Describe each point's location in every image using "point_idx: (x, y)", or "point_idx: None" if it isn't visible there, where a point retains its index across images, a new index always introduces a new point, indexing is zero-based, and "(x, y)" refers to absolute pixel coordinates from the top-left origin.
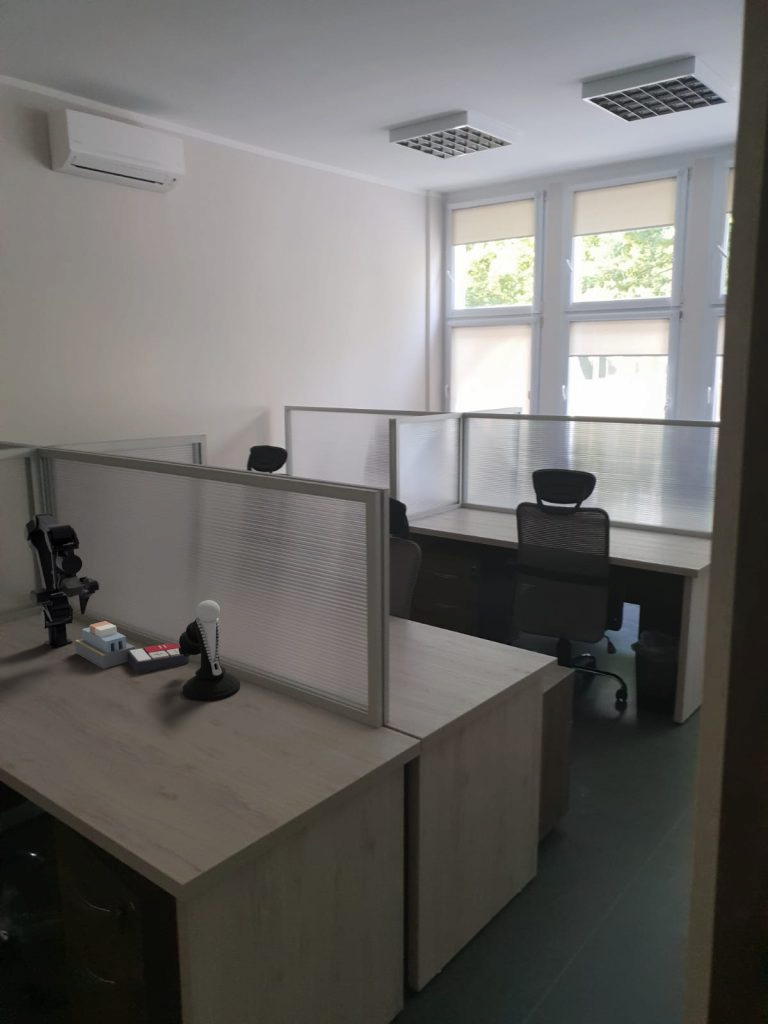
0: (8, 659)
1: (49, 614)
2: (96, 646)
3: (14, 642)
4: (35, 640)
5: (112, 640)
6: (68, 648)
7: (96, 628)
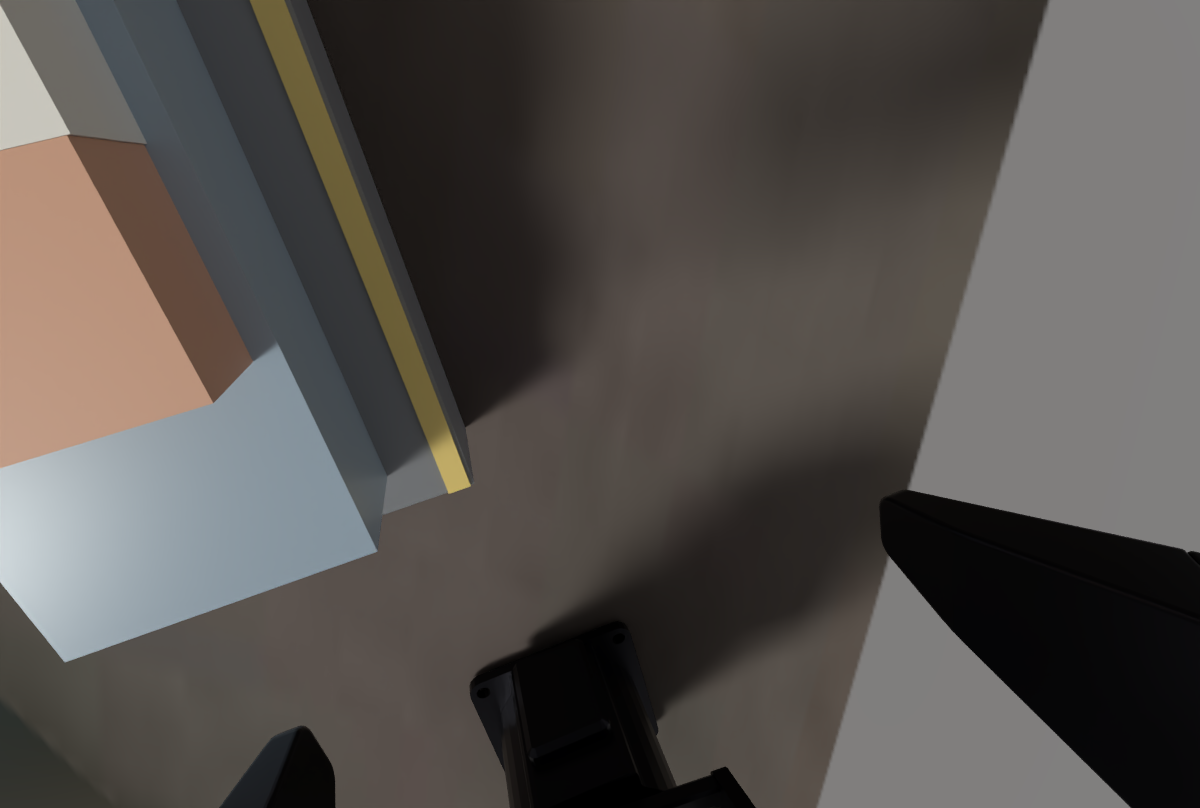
0: None
1: (1112, 542)
2: (212, 86)
3: (796, 782)
4: None
5: None
6: (513, 572)
7: (14, 38)
